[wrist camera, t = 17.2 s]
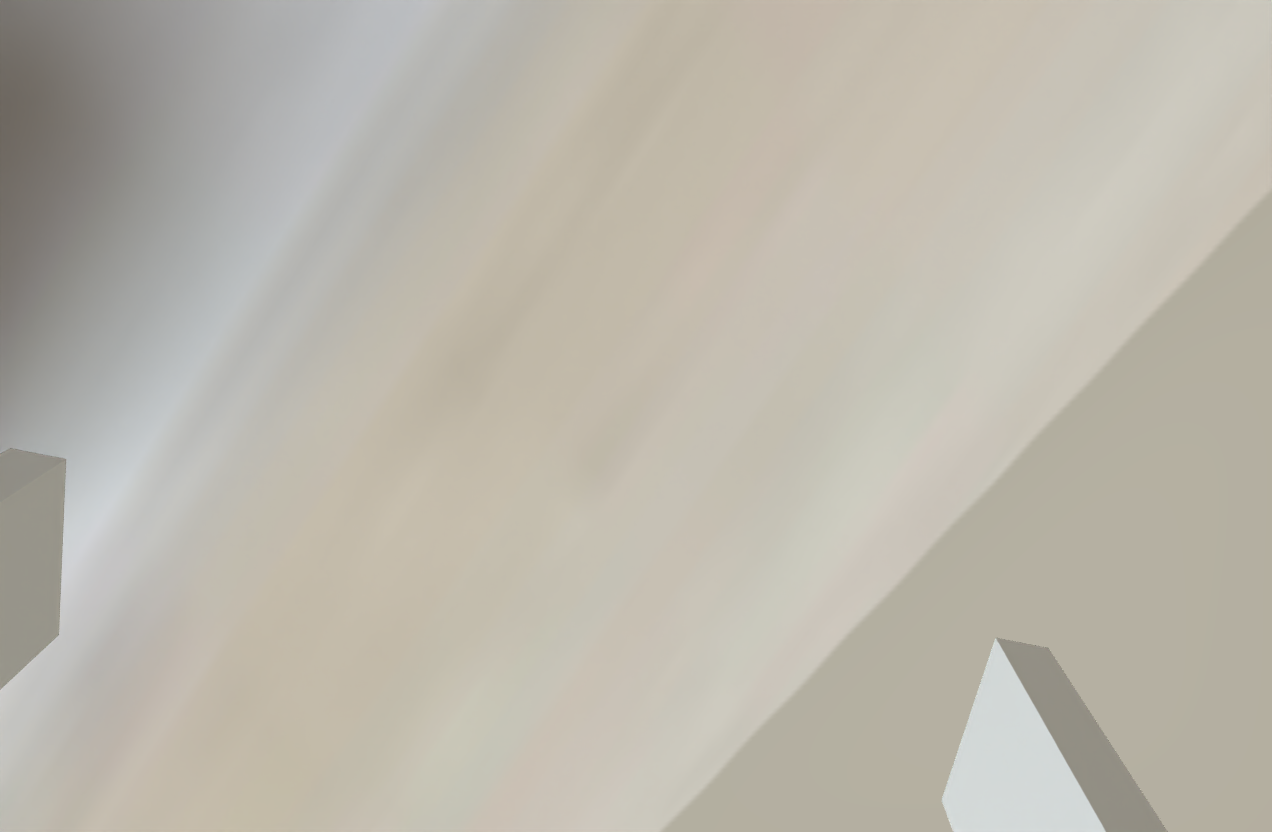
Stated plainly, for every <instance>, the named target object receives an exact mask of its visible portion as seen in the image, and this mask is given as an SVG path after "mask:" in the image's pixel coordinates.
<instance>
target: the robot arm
mask: <svg viewBox="0 0 1272 832" xmlns="http://www.w3.org/2000/svg"><path fill="white" fill-rule="evenodd" d="M65 473H66V459H63V458H58V457H53V456H48V455H43V454H37V453H32V452H27V451H22V450H17V449H11V448H10V449H8V450H7V451H5V452H3V453H1V454H0V689H1V688H2V687H3V686H5V685H6V684H7V683H8V682H9V681H10V680H11V679H12V678H13V677H14V676H15V675H16V674H17V673H18V672H20V671H21V670H22V669H23V668H24V667H25V666H26V665H27V664H28V663H29V662H30V661H31V660H32V659H33V658H35V657H36V656H37V655H38V654H39V653H40V652H41V651H42V650H43V649H44V648H45V647H46V646H47V645H48V644H50V643H51V642H52V641H53V640H54V639H55V638H56V637H57V636H58V635H59V618H60V594H61V570H62V546H63V521H64V497H65ZM942 803H943V805H944V808H945V811H946V813H947V816H948V819H949V822H950V824H951V827H952V830H953V832H1168V831H1167V830H1166V829H1165V827H1164V825H1163V824H1162V822H1161V821H1160V820H1159V818H1158V816H1157V814H1156V813H1155V811H1154V810H1153V808H1152V807H1151V805H1150V804H1149V802H1148V801H1147V799H1146V798H1145V796H1144V794H1143V793H1142V791H1141V790H1140V788H1139V787H1138V785H1137V784H1136V782H1135V781H1134V779H1133V778H1132V776H1131V774H1130V773H1129V771H1128V770H1127V768H1126V767H1125V765H1124V764H1123V762H1122V761H1121V759H1120V757H1119V756H1118V754H1117V753H1116V751H1115V750H1114V748H1113V747H1112V745H1111V744H1110V742H1109V740H1108V739H1107V737H1106V736H1105V735H1104V733H1103V731H1102V730H1101V728H1100V727H1099V725H1098V724H1097V722H1096V720H1095V719H1094V717H1093V716H1092V714H1091V713H1090V711H1089V710H1088V708H1087V707H1086V705H1085V703H1084V702H1083V700H1082V699H1081V697H1080V696H1079V694H1078V693H1077V691H1076V690H1075V688H1074V687H1073V685H1072V683H1071V682H1070V680H1069V679H1068V678H1067V676H1066V674H1065V673H1064V671H1063V670H1062V668H1061V666H1060V665H1059V663H1058V662H1057V660H1056V659H1055V657H1054V656H1053V654H1052V653H1051V651H1050V650H1049V648H1046V647H1040V646H1036V645H1031V644H1025V643H1020V642H1015V641H1010V640H1005V639H999V638H995V641H994V645H993V647H992V650H991V654H990V657H989V659H988V662H987V665H986V668H985V672H984V675H983V677H982V681H981V683H980V687H979V689H978V693H977V696H976V698H975V702H974V705H973V708H972V710H971V713H970V716H969V720H968V722H967V725H966V728H965V732H964V735H963V737H962V740H961V744H960V746H959V749H958V752H957V755H956V758H955V762H954V764H953V767H952V770H951V774H950V776H949V779H948V782H947V786H946V788H945V792H944V795H943V797H942Z"/></svg>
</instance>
